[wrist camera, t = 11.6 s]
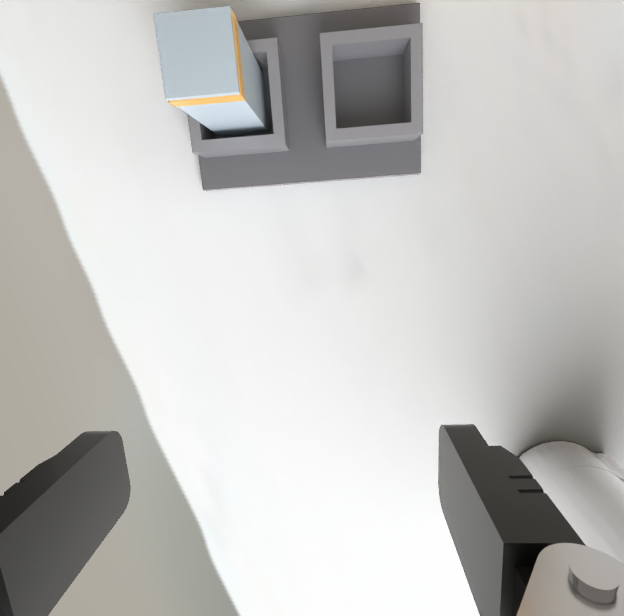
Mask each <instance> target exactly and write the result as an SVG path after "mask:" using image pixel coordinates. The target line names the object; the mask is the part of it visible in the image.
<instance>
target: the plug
mask: <svg viewBox="0 0 624 616" xmlns="http://www.w3.org/2000/svg"><path fill="white" fill-rule="evenodd" d="M154 21H155V28H156V35H157V42H158V49H159V56H160V63H161V70H162V77H163V84H164V91H165V98H166V99H167V100H168V102H169V103H170V104H172V105H173V106H175V107H178V108H180V109H181V110H183V111H184V112H186V113H187V114H188V115H190V116H191V117H193V118H194V119H196V120H197V121H199V122H200V123H201V124H203V125H204V126H206V127H207V128H209V129H210V130H211V131H213V132H214V133H216V134H217V135H219V136H220V137H224V136H236V135H247V134H259V133H269V123H268V112H267V100H266V89H265V78H264V76H263V74H262V72H261V69H260V67H259V65H258V63H257V61H256V59H255V57H254V55H253V53H252V51H251V49H250V47H249V45H248V43H247V40H246V38H245V36H244V34H243V32H242V30H241V28H240V26H239V24H238V21H237V17H236V15H235V13H234V11H233V10H232V9H231V7H230V6H223V7H213V8H204V9H194V10H185V11H175V12H166V13H157V14H154Z"/></svg>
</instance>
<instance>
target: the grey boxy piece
mask: <svg viewBox="0 0 624 616" xmlns="http://www.w3.org/2000/svg"><path fill="white" fill-rule="evenodd" d="M238 24H239V26H240V28H241V30H242V32H243V34H244V36H245V38H246V40H247V43H248V45H249V47H250V49H251V51H252V53H253V55H254V57H255V59H256V61H257V63H258V65H259V67H260V69H261V72H262V74H263V76H264V78H265V89H266V100H267V112H268V123H269V133H259V134H247V135H236V136H224V137H220V136H219V135H217V134H216V133H214V132H213V131H211V130H210V129H209V128H207V127H206V126H204V125H203V124H201V123H200V122H199V121H197V120H196V119H194V118H193V117H191V116H190V115H188V122H189V129H190V137H191V145H192V152H193V153H195V154H197V155H199V163H200V170H201V178H202V186H203V190H206V191H209V190H222V189H235V188H247V187H260V186H273V185H286V184H299V183H312V182H325V181H338V180H351V179H364V178H377V177H389V176H402V175H415V174H420V173H421V134H423V66H422V23H420V3H413V4H404V5H394V6H384V7H374V8H365V9H355V10H345V11H336V12H326V13H316V14H306V15H297V16H287V17H277V18H267V19H258V20H248V21H238Z"/></svg>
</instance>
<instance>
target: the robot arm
mask: <svg viewBox="0 0 624 616" xmlns="http://www.w3.org/2000/svg"><path fill="white" fill-rule="evenodd" d="M438 484H439V495H440V502H441V506H442V510H443V513H444V516H445V519H446V522H447V525H448V527H449V530H450V533H451V536H452V539H453V541H454V544H455V547H456V550H457V553H458V555H459V558H460V561H461V564H462V566H463V569H464V572H465V575H466V578H467V580H468V583H469V586H470V589H471V592H472V594H473V597H474V600H475V603H476V606H477V608H478V611H479V614H480V616H624V470H623V469H622V468H620V467H619V466H618V465H617V464H616V463H615V462H614V461H612V460H611V459H610V458H609V457H608V456H607V455H606V454H604V453H593V452H591V451H590V450H588V449H586V448H585V447H583V446H581V445H579V444H576V443H573V442H567V441H552V442H547V443H542V444H540V445H537V446H535V447H533V448H531V449H529V450H528V451H526V452H525V453H523V454H522V455H521V456H520V457H519V458H518V457H516V456H515V455H513V454H512V453H510V452H509V451H508V450H506V449H505V448H503V447H502V446H488V444H487V443H486V441H485V440H484V438H483V437H482V435H481V434H480V432H479V431H478V429H477V428H476V427H475V425H473V424H469V425H441V426H440V429H439V477H438ZM129 497H130V481H129V475H128V469H127V464H126V458H125V453H124V447H123V441H122V438H121V436H120V434H119V433H118V432H116V431H91V432H84V433H82V434H81V435H80V436H78V437H77V438H76V439H75V440H74V441H72V442H71V443H70V444H69V445H67V446H66V447H65V448H64V449H63V450H62V451H60V452H59V453H58V454H57V455H55V456H54V457H52V458H50V459H48V460H46V461H44V462H43V463H41V464H39V465H37V466H36V467H35V468H34V469H32V470H31V471H30V472H29V473H27V474H26V475H25V476H24V477H23V478H21V479H20V482H19V483H15V484H14V485H13V486H11V487H10V488H9V489H8V490H7V491H6V492H4V495H3V496H0V616H48V615H49V613H50V612H51V611H52V609H53V608H54V606H55V605H56V604H57V602H58V601H59V600H60V598H61V597H62V595H63V594H64V593H65V592H66V590H67V589H68V587H69V586H70V585H71V583H72V582H73V581H74V579H75V578H76V577H77V575H78V574H79V573H80V571H81V570H82V568H83V567H84V566H85V564H86V563H87V561H88V560H89V559H90V558H91V556H92V555H93V553H94V552H95V550H96V549H97V548H98V547H99V545H100V544H101V543H102V541H103V540H104V538H105V537H106V536H107V534H108V533H109V532H110V530H111V529H112V528H113V526H114V525H115V524H116V522H117V521H118V519H119V518H120V517H121V515H122V514H123V513H124V511H125V509H126V507H127V504H128V501H129Z"/></svg>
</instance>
